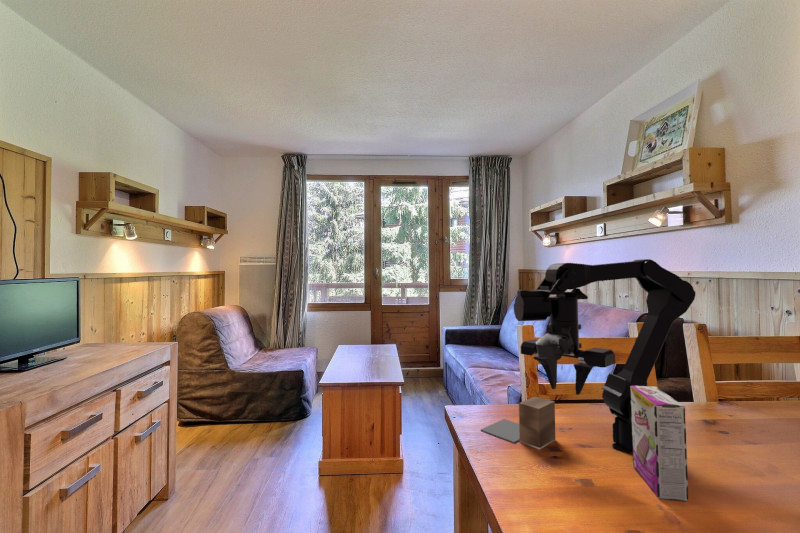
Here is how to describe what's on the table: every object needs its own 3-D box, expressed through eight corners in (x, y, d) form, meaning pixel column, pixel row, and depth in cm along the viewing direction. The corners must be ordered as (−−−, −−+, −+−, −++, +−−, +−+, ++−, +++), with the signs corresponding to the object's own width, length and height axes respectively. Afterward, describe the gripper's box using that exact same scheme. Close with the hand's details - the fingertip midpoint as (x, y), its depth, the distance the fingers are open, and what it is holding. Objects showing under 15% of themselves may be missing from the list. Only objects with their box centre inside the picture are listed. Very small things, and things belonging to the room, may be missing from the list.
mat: (537, 430, 94) (537, 429, 94) (514, 443, 87) (514, 441, 87) (504, 420, 101) (504, 418, 101) (480, 430, 94) (480, 429, 94)
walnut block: (555, 440, 88) (554, 401, 88) (539, 449, 84) (538, 408, 84) (535, 433, 92) (534, 396, 92) (519, 442, 88) (518, 403, 88)
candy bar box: (631, 467, 76) (628, 384, 76) (659, 469, 75) (656, 385, 75) (657, 500, 65) (654, 403, 65) (690, 503, 64) (687, 405, 64)
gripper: (506, 320, 85) (507, 389, 85) (591, 328, 71) (593, 412, 71) (532, 315, 92) (534, 380, 92) (615, 322, 78) (617, 398, 78)
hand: (565, 391), depth 83 cm, fingers open, 5 cm apart
